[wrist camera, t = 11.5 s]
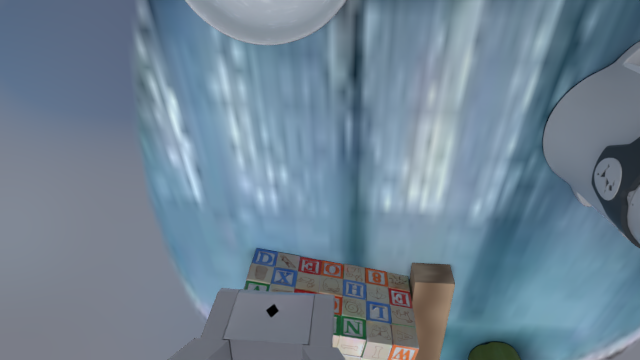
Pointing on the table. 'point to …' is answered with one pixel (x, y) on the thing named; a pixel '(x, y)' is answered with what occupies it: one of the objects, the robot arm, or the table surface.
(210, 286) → the table surface
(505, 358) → the plant pot
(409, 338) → the stack of blocks
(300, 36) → the cereal bowl
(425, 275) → the board
